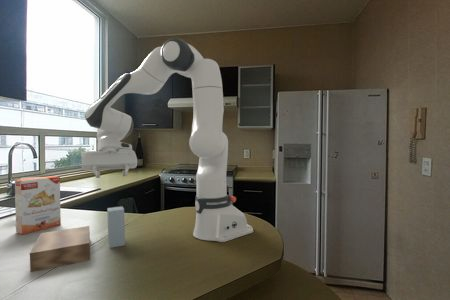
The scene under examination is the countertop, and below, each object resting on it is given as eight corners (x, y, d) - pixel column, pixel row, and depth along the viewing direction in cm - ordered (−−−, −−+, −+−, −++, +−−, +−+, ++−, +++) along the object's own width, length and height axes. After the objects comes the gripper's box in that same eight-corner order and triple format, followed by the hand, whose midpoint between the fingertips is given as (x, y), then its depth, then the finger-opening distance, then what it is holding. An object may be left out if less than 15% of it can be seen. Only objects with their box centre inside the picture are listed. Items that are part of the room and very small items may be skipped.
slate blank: (123, 240, 89) (122, 206, 89) (125, 245, 85) (124, 209, 85) (108, 243, 87) (107, 208, 87) (109, 248, 83) (108, 211, 82)
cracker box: (22, 235, 96) (20, 180, 96) (15, 232, 99) (13, 179, 99) (61, 225, 108) (60, 176, 108) (54, 223, 111) (53, 175, 111)
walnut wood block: (89, 239, 90) (89, 225, 90) (89, 259, 74) (89, 242, 74) (41, 248, 83) (41, 233, 83) (30, 272, 68) (29, 253, 67)
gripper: (80, 145, 99) (80, 172, 90) (135, 144, 108) (139, 169, 100) (81, 156, 103) (80, 183, 94) (134, 154, 112) (138, 179, 104)
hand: (111, 176), depth 97 cm, fingers open, 8 cm apart
